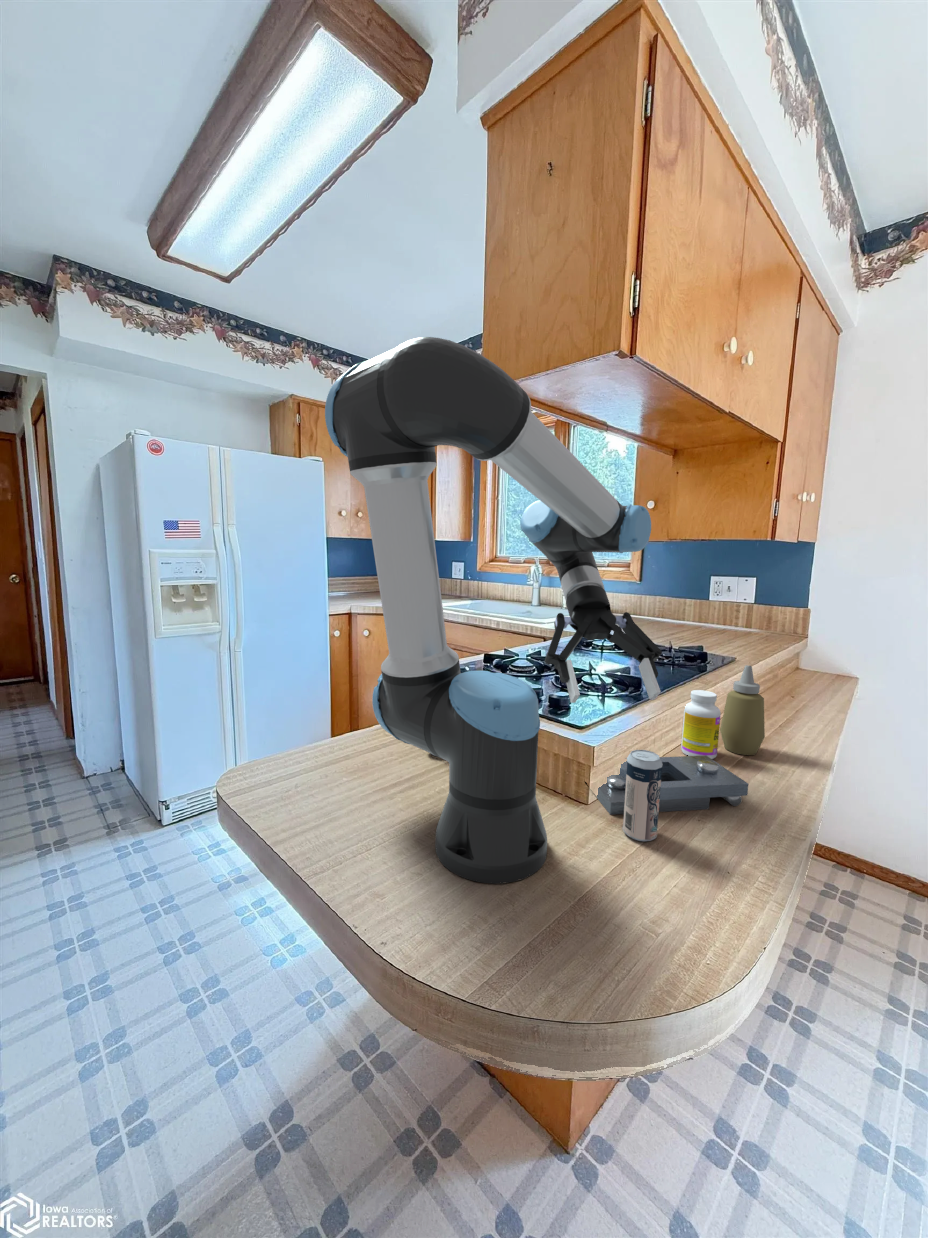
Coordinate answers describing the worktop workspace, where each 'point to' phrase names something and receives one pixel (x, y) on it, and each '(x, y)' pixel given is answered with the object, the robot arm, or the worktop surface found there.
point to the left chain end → (615, 800)
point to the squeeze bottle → (743, 716)
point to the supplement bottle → (701, 725)
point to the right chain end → (698, 779)
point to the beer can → (642, 795)
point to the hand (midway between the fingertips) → (615, 697)
